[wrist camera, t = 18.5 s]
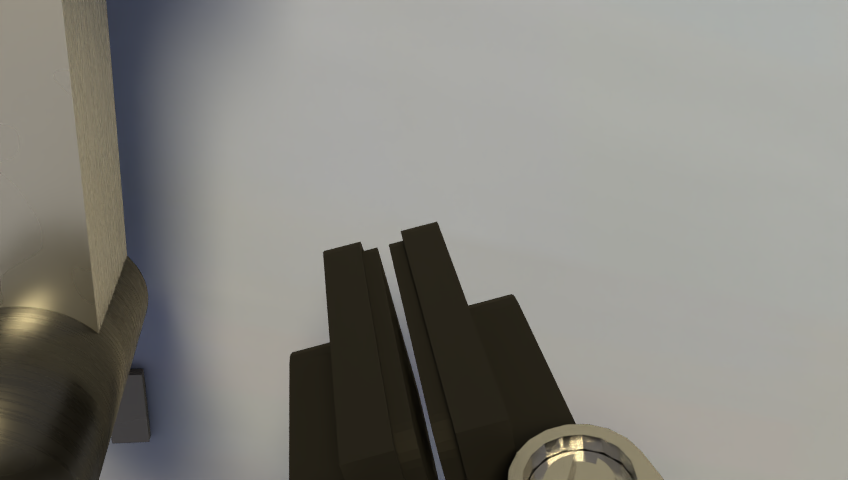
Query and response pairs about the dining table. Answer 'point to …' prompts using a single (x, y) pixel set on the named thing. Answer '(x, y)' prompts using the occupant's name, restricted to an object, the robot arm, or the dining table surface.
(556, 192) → the dining table surface
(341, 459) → the robot arm
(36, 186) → the crank
